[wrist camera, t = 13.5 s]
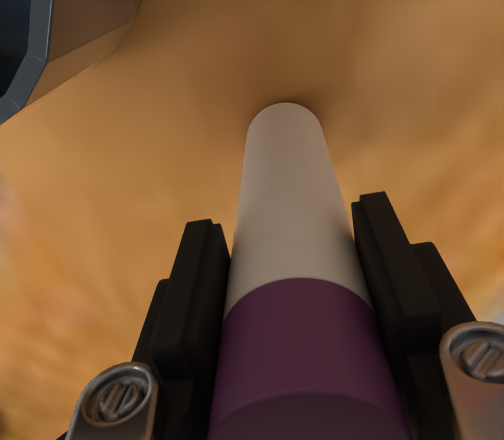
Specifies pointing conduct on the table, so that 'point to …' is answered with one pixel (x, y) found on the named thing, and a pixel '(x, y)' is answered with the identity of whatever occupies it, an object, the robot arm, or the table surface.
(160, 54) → the table surface
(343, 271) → the glue stick
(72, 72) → the pen cup
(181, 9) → the table surface
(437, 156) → the table surface
